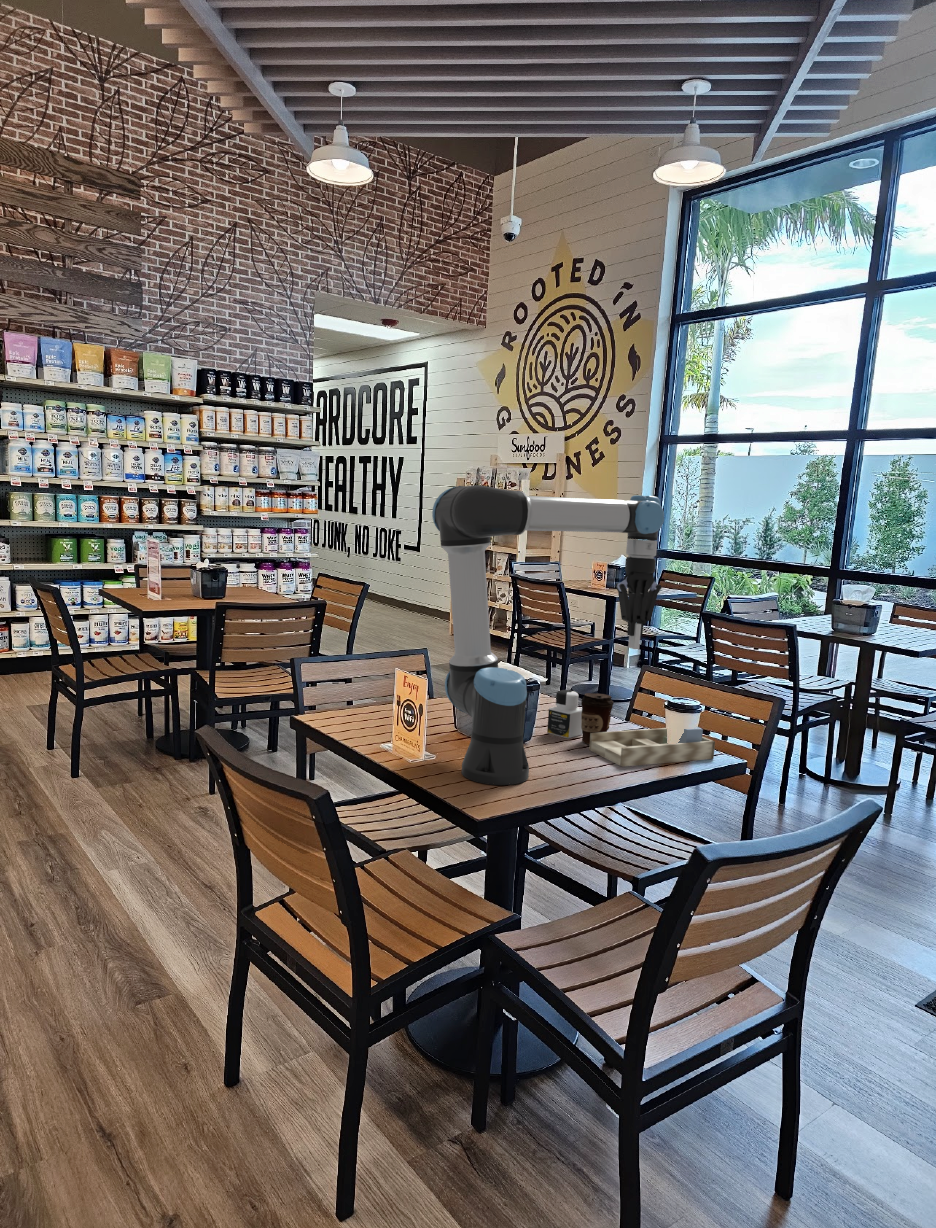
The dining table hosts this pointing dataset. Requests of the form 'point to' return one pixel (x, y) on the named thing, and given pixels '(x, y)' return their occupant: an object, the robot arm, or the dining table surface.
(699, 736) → the slate block
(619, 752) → the serving tray
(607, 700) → the coffee cup
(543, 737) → the dining table surface
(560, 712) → the medicine bottle
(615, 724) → the dining table surface
